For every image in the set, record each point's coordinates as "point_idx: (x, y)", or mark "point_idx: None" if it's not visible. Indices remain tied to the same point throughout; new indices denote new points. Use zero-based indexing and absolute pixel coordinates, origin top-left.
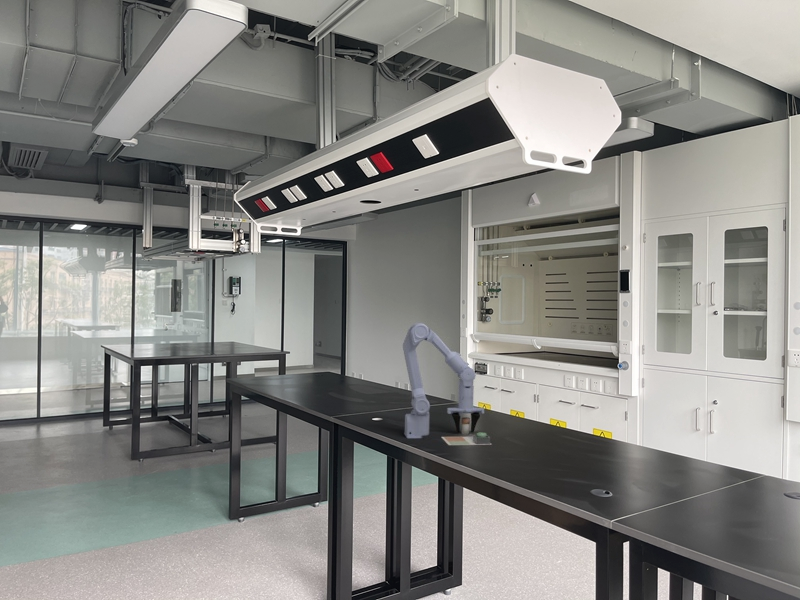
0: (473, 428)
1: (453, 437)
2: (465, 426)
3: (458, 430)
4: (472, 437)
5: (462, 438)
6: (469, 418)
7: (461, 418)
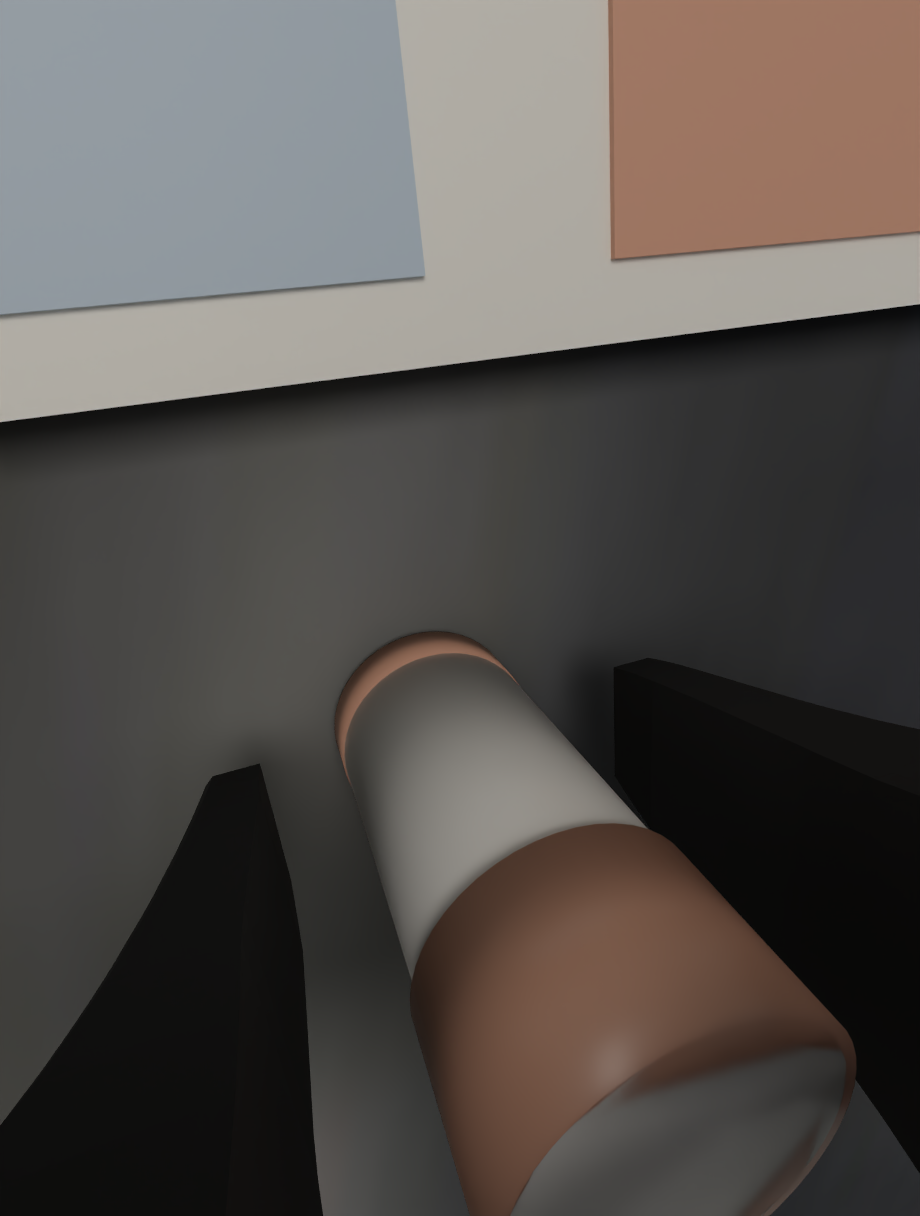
0: (233, 824)
1: (840, 186)
2: (545, 778)
3: (673, 672)
4: (294, 181)
5: (650, 8)
6: (511, 1193)
7: (826, 1090)
